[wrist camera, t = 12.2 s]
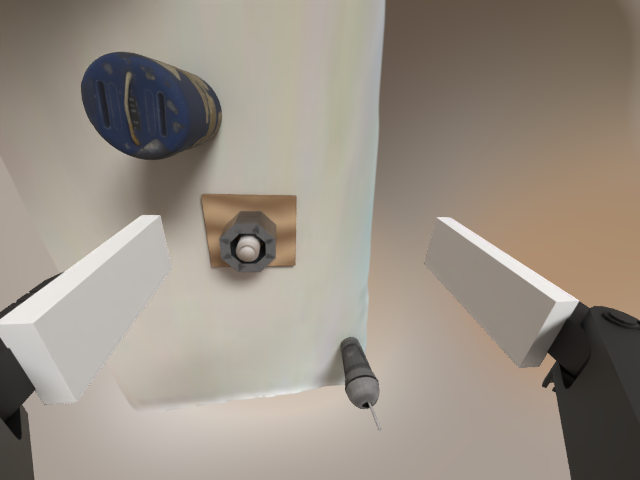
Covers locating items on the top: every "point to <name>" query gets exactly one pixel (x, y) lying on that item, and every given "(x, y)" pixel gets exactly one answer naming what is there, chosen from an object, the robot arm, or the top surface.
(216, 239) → the post block
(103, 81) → the canister
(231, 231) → the ring
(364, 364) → the beverage cup
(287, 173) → the top surface
